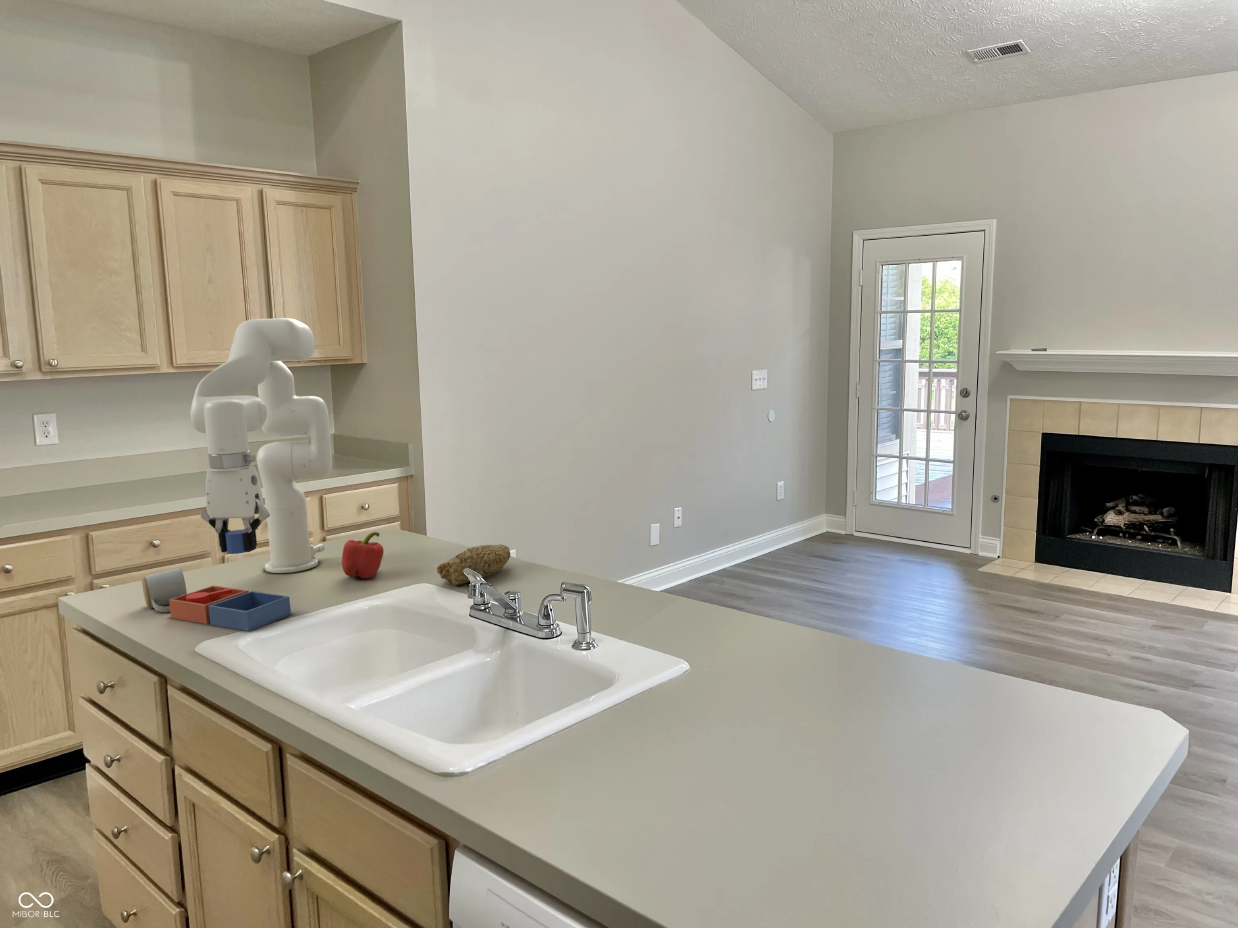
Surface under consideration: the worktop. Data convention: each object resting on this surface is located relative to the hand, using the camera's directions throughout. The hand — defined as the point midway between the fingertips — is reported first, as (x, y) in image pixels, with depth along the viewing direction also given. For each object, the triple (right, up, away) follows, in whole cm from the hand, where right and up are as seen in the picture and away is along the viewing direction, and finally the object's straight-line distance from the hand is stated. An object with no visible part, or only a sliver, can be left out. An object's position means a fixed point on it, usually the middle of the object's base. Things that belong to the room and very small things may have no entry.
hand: (238, 549), depth 184 cm
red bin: (-10, -14, +9) cm, 19 cm away
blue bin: (+1, -15, +4) cm, 15 cm away
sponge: (+44, -9, +31) cm, 54 cm away
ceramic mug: (-22, -14, +15) cm, 30 cm away
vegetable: (+16, -10, +34) cm, 39 cm away
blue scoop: (0, 0, +2) cm, 2 cm away
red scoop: (-10, -14, +9) cm, 19 cm away
